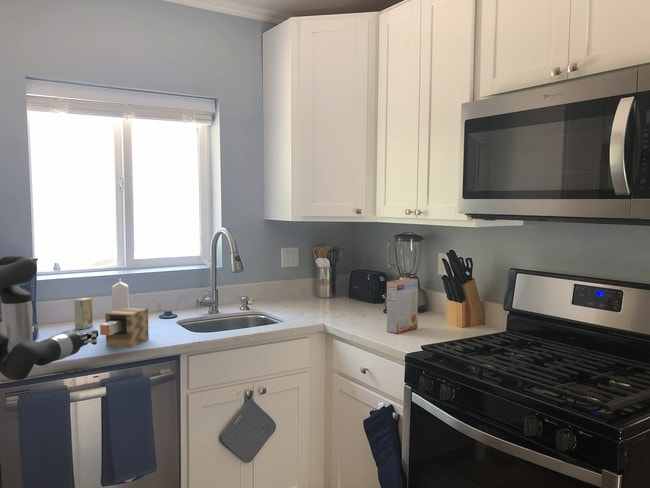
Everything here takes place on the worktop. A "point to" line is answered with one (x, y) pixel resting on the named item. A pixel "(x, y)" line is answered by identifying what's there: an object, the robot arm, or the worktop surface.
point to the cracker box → (402, 305)
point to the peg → (111, 327)
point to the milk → (120, 296)
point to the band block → (129, 327)
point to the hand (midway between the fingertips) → (96, 333)
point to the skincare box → (83, 313)
